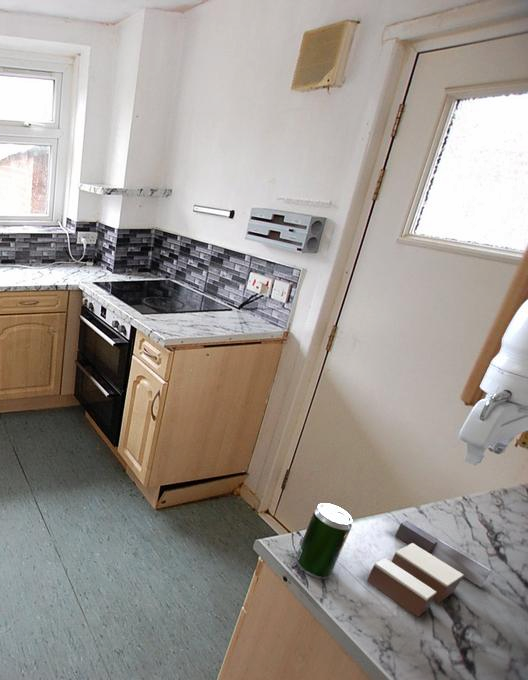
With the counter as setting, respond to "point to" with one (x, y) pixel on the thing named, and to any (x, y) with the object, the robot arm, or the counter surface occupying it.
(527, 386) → the robot arm
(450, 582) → the cake
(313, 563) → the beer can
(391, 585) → the cake slice
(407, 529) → the knife
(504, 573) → the counter surface
